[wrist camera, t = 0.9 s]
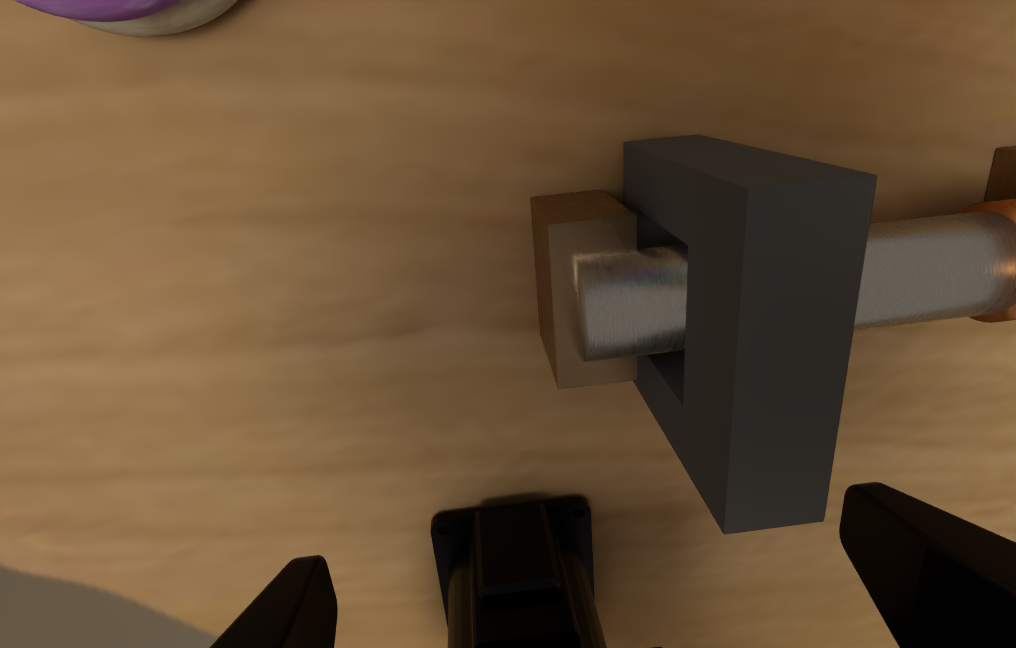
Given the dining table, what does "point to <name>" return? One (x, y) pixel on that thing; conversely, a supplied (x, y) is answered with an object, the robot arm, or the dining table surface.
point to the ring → (753, 318)
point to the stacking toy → (135, 14)
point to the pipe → (663, 270)
